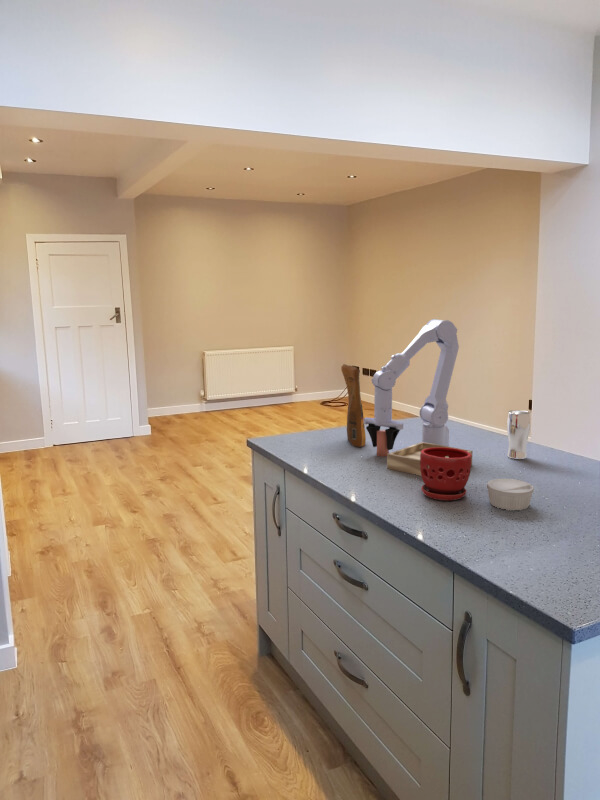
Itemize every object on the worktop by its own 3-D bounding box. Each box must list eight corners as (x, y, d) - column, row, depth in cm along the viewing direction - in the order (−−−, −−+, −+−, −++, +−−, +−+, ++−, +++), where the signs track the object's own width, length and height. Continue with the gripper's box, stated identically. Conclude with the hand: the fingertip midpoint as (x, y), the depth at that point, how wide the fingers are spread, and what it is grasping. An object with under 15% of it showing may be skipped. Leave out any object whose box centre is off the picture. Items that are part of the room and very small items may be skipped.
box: (421, 455, 203) (422, 441, 202) (472, 464, 191) (472, 450, 190) (387, 468, 188) (387, 454, 188) (439, 479, 176) (439, 464, 175)
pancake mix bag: (350, 449, 212) (350, 368, 207) (340, 436, 230) (340, 362, 226) (369, 448, 212) (369, 368, 208) (358, 435, 231) (358, 361, 226)
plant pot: (467, 506, 155) (469, 460, 153) (415, 500, 159) (416, 455, 157) (472, 490, 167) (473, 447, 165) (423, 485, 171) (424, 443, 169)
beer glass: (504, 459, 196) (506, 413, 194) (506, 453, 203) (508, 409, 200) (528, 461, 194) (530, 414, 191) (528, 455, 200) (531, 410, 198)
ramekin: (527, 516, 148) (528, 495, 147) (480, 507, 153) (481, 487, 153) (536, 502, 157) (538, 482, 156) (492, 495, 163) (493, 476, 162)
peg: (381, 452, 206) (381, 429, 205) (391, 454, 204) (391, 431, 202) (374, 455, 204) (374, 431, 202) (384, 457, 201) (384, 433, 199)
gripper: (358, 406, 203) (357, 446, 205) (394, 412, 193) (394, 453, 195) (370, 403, 208) (370, 442, 210) (407, 408, 198) (406, 449, 201)
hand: (382, 447), depth 203 cm, fingers open, 5 cm apart
